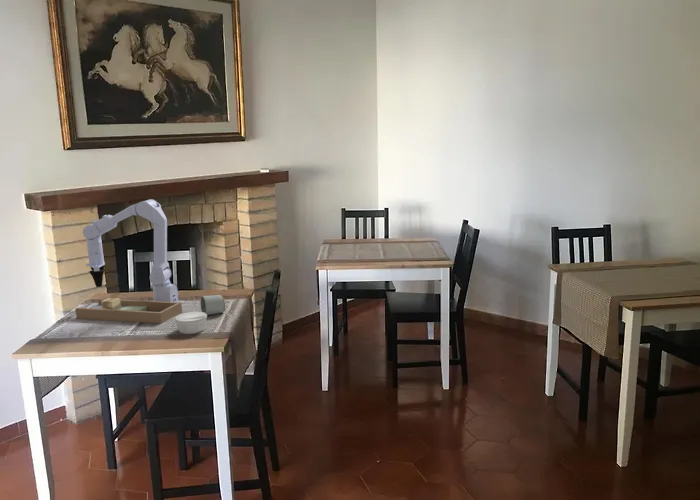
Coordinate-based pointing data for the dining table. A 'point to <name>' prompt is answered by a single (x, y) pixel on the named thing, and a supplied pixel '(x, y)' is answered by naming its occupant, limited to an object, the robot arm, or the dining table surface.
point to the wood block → (111, 303)
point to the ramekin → (191, 322)
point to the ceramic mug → (212, 304)
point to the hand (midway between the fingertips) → (99, 284)
